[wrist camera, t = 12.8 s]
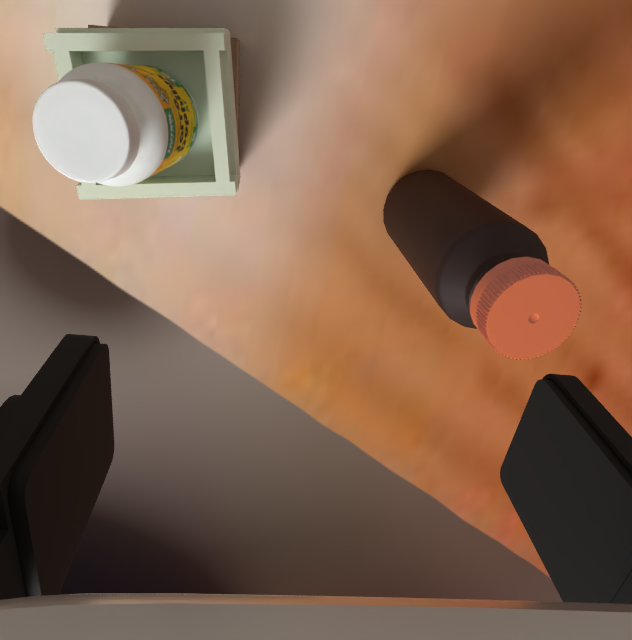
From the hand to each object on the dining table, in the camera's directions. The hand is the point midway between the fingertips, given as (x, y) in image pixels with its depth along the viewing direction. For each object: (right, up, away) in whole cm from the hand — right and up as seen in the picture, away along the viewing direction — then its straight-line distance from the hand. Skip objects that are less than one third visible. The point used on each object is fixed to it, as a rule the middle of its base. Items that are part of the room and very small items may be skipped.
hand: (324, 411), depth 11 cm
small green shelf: (-10, +16, +23) cm, 29 cm away
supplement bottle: (-9, +14, +18) cm, 25 cm away
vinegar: (+9, +11, +32) cm, 35 cm away
